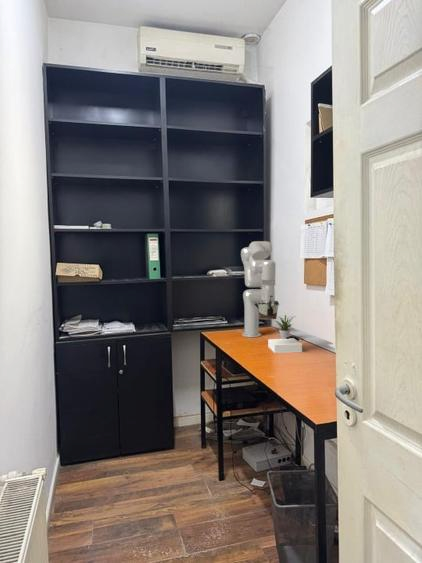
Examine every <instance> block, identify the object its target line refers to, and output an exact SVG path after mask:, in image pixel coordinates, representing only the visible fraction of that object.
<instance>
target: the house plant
mask: <svg viewBox="0 0 422 563" xmlns="http://www.w3.org/2000/svg"><path fill="white" fill-rule="evenodd" d="M277 317H278V318H276V319H273V321H274V322H275V323H276V324H275V325H278V326H280V329H279V331H278V332H279V339H286V338H287V337H289V338H290V333H291V329H289V328H290V327H292V323H291V322H292V321H293V320H294V319H293V318H296V317H297V316H292V315H291V316H289V317H287V314H285V315H284V318H283V317H281V316H278V315H277ZM289 318H290V319H289ZM277 319H278V320H279V321H278V320H277Z"/></svg>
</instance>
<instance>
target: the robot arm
mask: <svg viewBox="0 0 422 563" xmlns="http://www.w3.org/2000/svg"><path fill="white" fill-rule="evenodd" d="M271 243H272V242H270V241H266V240H263V241H261V240H259V241H258V240H257V241H255V240H254V241H251V243H250V244H249V245H248V246H247V247H243V248H242V249H241V250H240V257H241V261H242V264H243V267H244V268H243V270H244V271H243V272H244V284H245V286H246V287H247V288H251V289H246V290H244V291H243V294H242V299H243V305H244V332H242V334H241V335H242V336H243V337H244V338H259V337H261V336H262V333H261V332H259V325H260V324H259V320H260V318H259V307H258V306H257V303H258V301H260V300H262V302H264V303H266V304H267V303H268V309H267V315H268V316H273V305H274V301H276V299H275V298H276V297H275V295H276V293H275V286H276V262H275V260H272V259H267V258H269V256H270V255H271V253H272V252H273V245H272V244H271ZM254 288H255V289H254ZM269 302H271V303H269ZM269 304H270V306H269Z"/></svg>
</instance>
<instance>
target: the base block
mask: <svg viewBox="0 0 422 563" xmlns="http://www.w3.org/2000/svg"><path fill="white" fill-rule="evenodd" d="M267 343H268V344H267V347H268V348H269V350H271V351H272V352H273V353H274V354H282V353H283V354H285V353H303V344H302V343H301V342H300V341H298V340H297V339H295V338H294V337H293V338H291V337H290V338H289V339H281V338H269V339H268V341H267Z"/></svg>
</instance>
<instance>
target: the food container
mask: <svg viewBox="0 0 422 563" xmlns="http://www.w3.org/2000/svg"><path fill="white" fill-rule="evenodd" d="M269 303H271V302H269ZM256 306H257V308H258V310H259V320H277V316H278V308H279V306H280V303H279V301H278V300H275V301H274V305H273V316H268V315H267V309H268V303H267V304H266V303H264V302H262V300H260V301H258V303H256ZM269 306H270V304H269Z"/></svg>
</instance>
